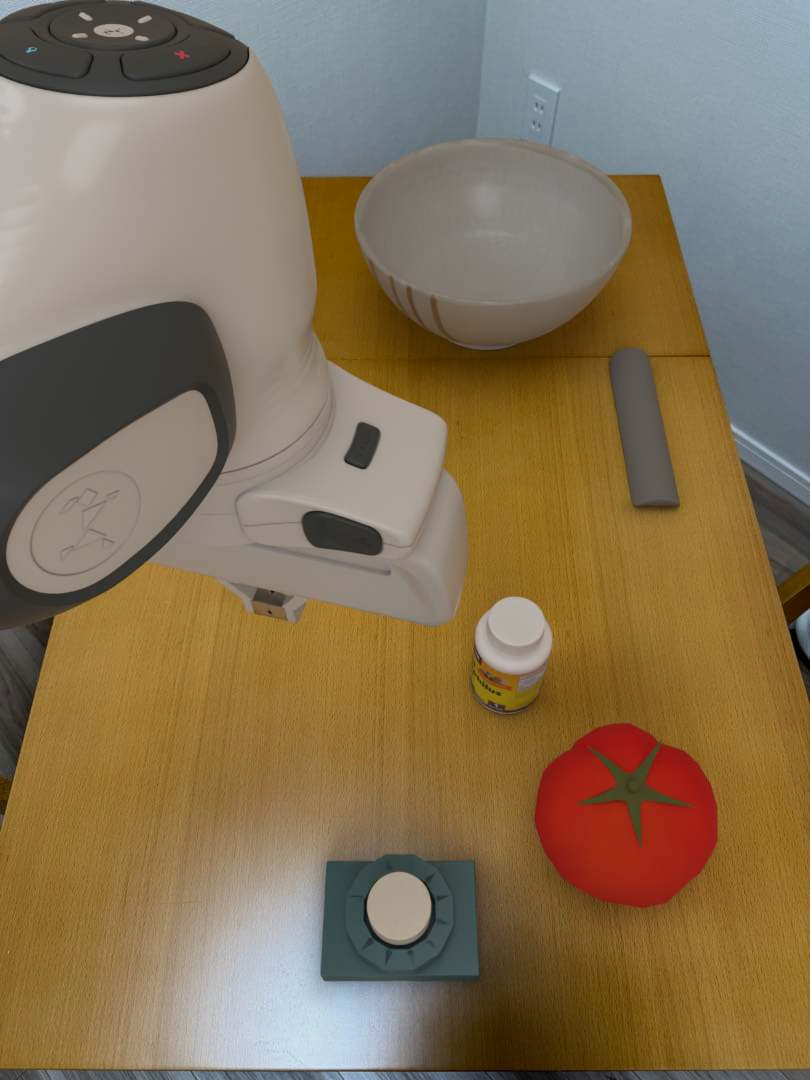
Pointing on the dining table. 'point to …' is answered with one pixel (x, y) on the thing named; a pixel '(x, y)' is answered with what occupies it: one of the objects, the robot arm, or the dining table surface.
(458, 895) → the push button box
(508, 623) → the supplement bottle
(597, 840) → the tomato
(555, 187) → the decorative bowl
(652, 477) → the gray half cylinder
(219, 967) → the dining table surface
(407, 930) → the beige push button
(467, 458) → the dining table surface
